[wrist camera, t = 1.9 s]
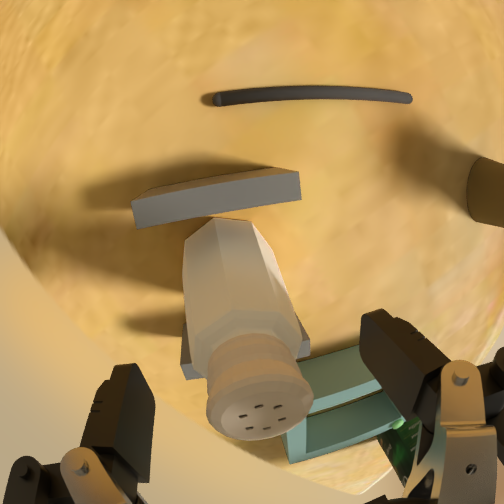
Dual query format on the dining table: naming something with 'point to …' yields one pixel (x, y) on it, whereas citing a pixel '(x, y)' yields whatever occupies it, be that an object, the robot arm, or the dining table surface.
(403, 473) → the coffee jar
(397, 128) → the dining table surface
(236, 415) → the pepper shaker
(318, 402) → the frame
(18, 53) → the dining table surface
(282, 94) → the thin black rod
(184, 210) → the pair of grey blocks
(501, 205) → the pepper shaker
